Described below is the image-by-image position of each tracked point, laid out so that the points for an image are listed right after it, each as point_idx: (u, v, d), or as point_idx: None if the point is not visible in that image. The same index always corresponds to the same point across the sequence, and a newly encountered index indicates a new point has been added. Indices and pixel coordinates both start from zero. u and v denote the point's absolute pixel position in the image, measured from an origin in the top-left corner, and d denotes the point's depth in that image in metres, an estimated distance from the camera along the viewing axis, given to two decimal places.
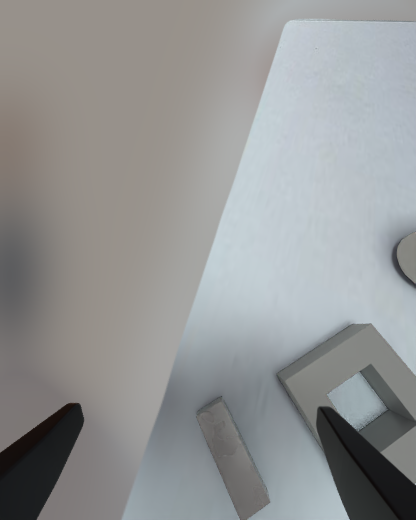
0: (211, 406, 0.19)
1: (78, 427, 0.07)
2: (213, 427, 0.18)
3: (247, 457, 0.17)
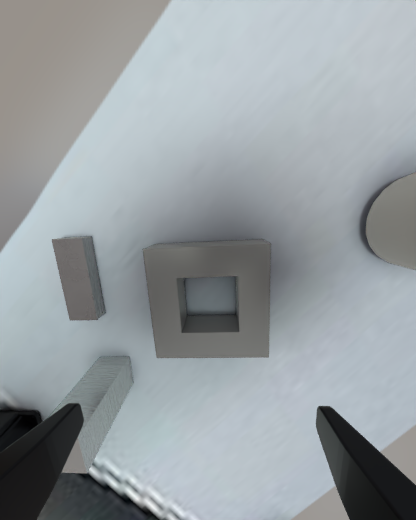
0: (71, 238, 0.17)
1: (78, 427, 0.07)
2: (66, 254, 0.18)
3: (90, 288, 0.18)
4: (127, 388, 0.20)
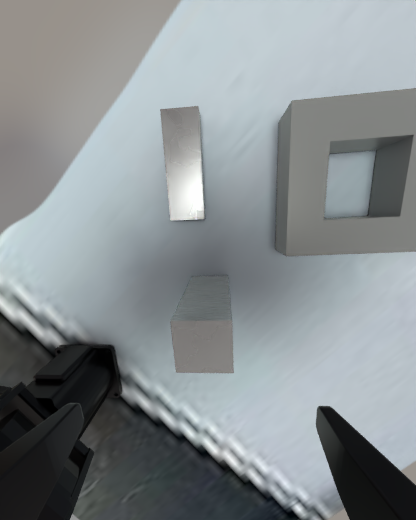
0: None
1: (78, 427, 0.07)
2: (176, 130, 0.14)
3: (200, 176, 0.15)
4: None
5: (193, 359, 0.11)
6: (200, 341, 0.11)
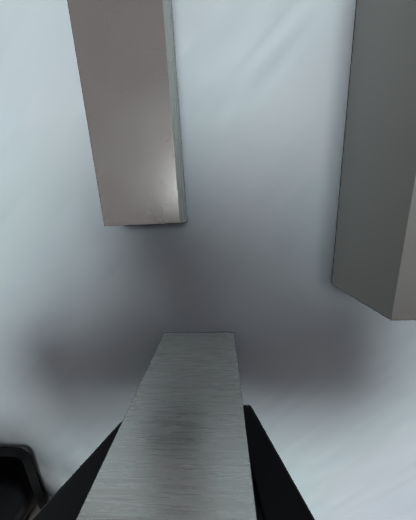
0: None
1: None
2: None
3: (168, 117, 0.06)
4: None
5: None
6: None
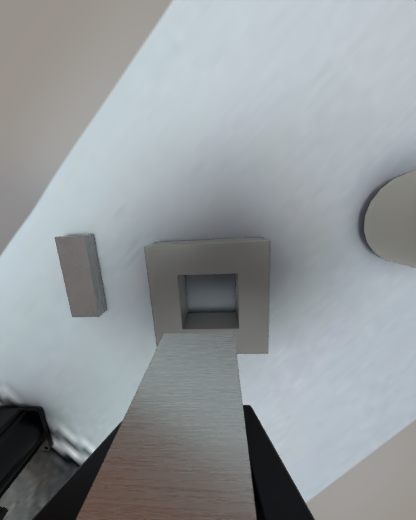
0: (74, 236, 0.18)
1: None
2: (69, 252, 0.18)
3: (92, 285, 0.18)
4: None
5: None
6: None
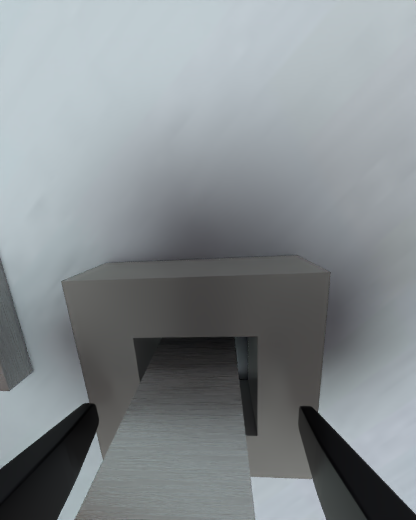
0: None
1: (94, 427, 0.07)
2: None
3: None
4: None
5: None
6: None
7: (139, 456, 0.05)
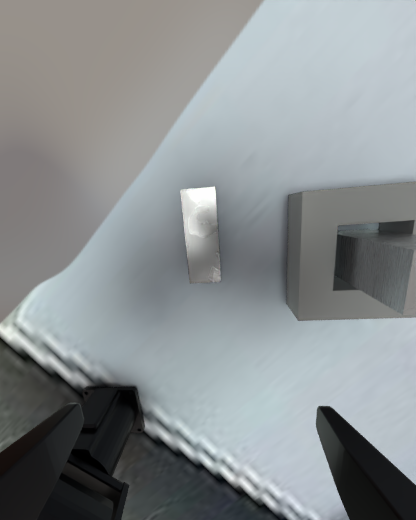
0: (201, 188, 0.16)
1: (78, 427, 0.07)
2: (195, 207, 0.16)
3: (217, 245, 0.16)
4: None
5: None
6: None
7: (404, 243, 0.10)
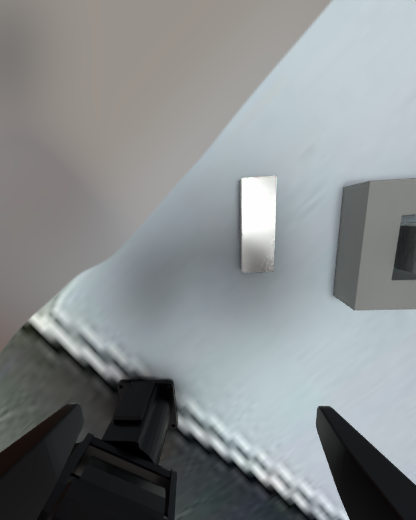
0: (261, 177, 0.16)
1: (78, 427, 0.07)
2: (254, 195, 0.16)
3: (273, 234, 0.17)
4: None
5: None
6: None
7: None
